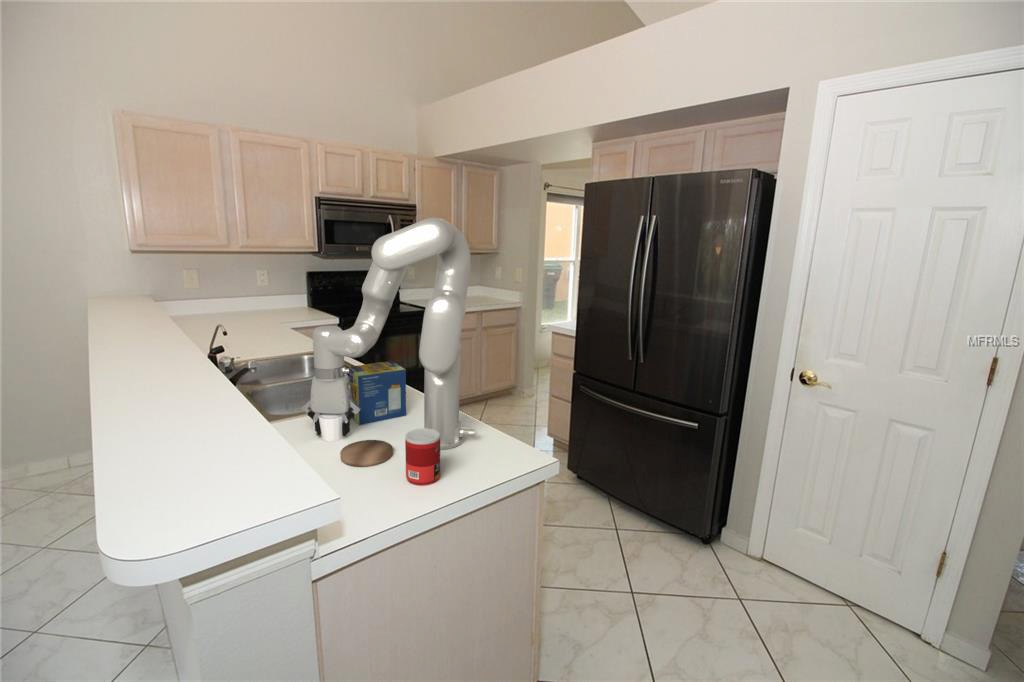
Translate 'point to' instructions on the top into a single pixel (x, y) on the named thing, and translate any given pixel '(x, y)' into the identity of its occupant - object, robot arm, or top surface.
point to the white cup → (331, 427)
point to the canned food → (422, 456)
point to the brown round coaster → (366, 453)
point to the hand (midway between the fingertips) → (332, 433)
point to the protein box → (378, 391)
